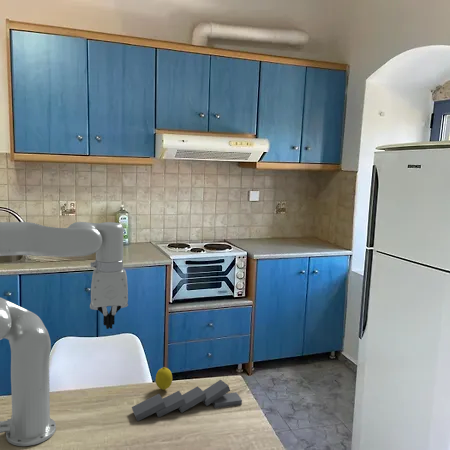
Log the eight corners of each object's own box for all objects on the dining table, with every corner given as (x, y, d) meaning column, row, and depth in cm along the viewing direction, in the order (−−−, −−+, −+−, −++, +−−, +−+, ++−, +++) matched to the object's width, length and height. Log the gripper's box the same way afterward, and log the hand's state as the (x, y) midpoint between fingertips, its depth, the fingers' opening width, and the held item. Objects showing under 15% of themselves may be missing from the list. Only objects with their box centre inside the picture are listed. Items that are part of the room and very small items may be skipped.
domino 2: (156, 412, 135) (184, 398, 138) (152, 403, 139) (178, 390, 142) (158, 417, 135) (185, 403, 138) (153, 409, 140) (180, 395, 143)
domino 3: (179, 407, 138) (205, 392, 142) (172, 400, 142) (197, 386, 146) (181, 412, 138) (206, 398, 142) (174, 405, 142) (199, 391, 147)
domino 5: (215, 403, 142) (241, 400, 145) (210, 395, 146) (236, 392, 149) (214, 409, 142) (241, 405, 145) (210, 401, 147) (236, 397, 150)
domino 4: (205, 400, 141) (228, 385, 146) (197, 394, 146) (220, 379, 150) (207, 406, 142) (230, 390, 146) (199, 399, 146) (222, 384, 150)
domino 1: (133, 412, 138) (161, 398, 141) (137, 421, 133) (165, 407, 136) (131, 407, 137) (159, 393, 140) (135, 416, 132) (163, 401, 136)
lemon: (168, 395, 148) (169, 372, 147) (152, 392, 149) (153, 369, 148) (174, 387, 154) (174, 364, 152) (158, 384, 155) (159, 362, 153)
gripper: (82, 270, 124) (82, 334, 126) (138, 267, 129) (136, 329, 132) (81, 263, 131) (81, 324, 133) (133, 261, 136) (132, 320, 139)
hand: (108, 327), depth 132 cm, fingers closed
